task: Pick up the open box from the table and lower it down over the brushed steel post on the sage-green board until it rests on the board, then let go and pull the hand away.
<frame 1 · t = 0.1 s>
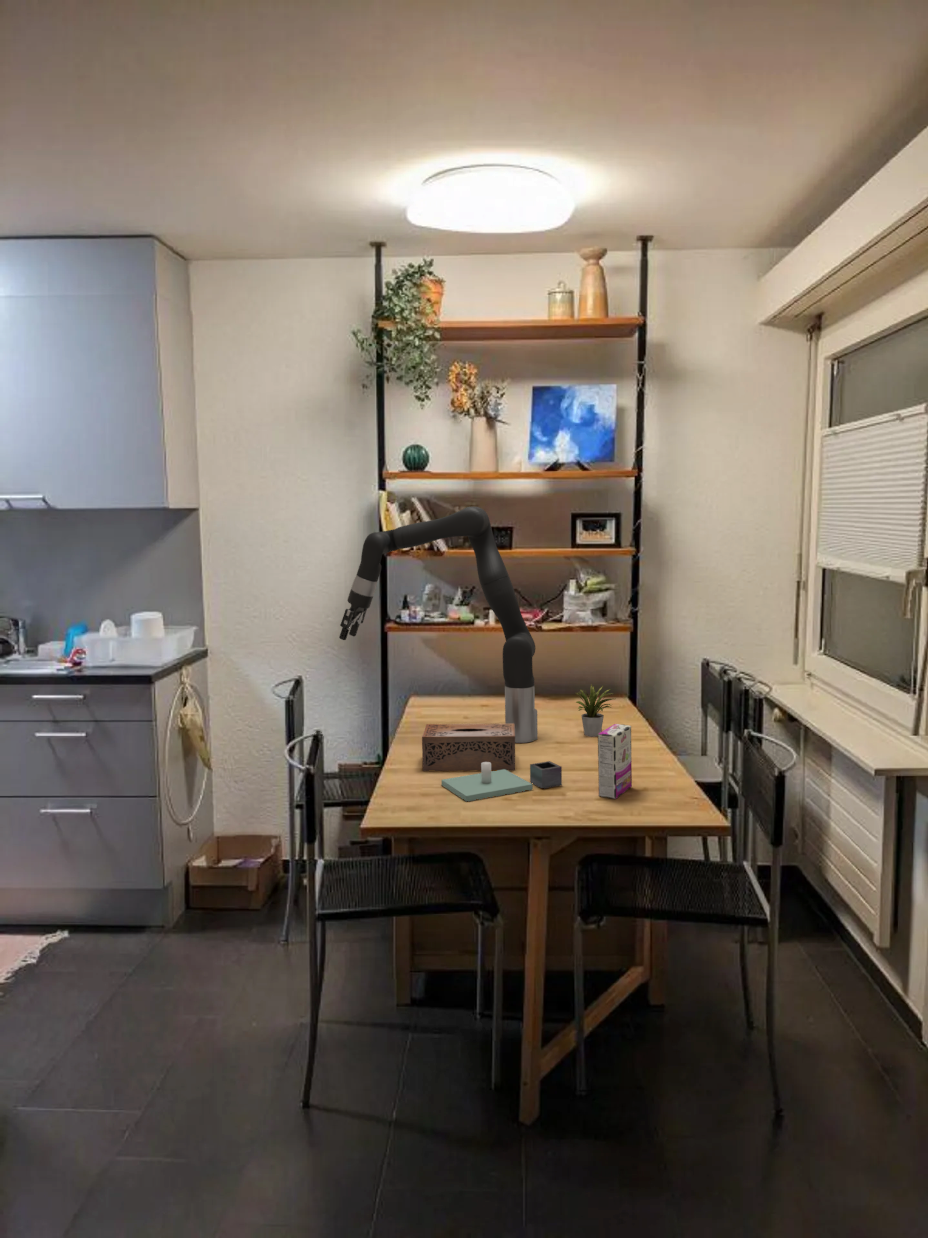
hand: (347, 637, 285), 31 cm above the table, tool tilted 20°, fingers open, 8 cm apart
house plant: (591, 736, 278), on the table
open box: (545, 784, 230), on the table
post board: (486, 787, 228), on the table
tissue box cover: (469, 764, 251), on the table
candy bar box: (614, 792, 223), on the table
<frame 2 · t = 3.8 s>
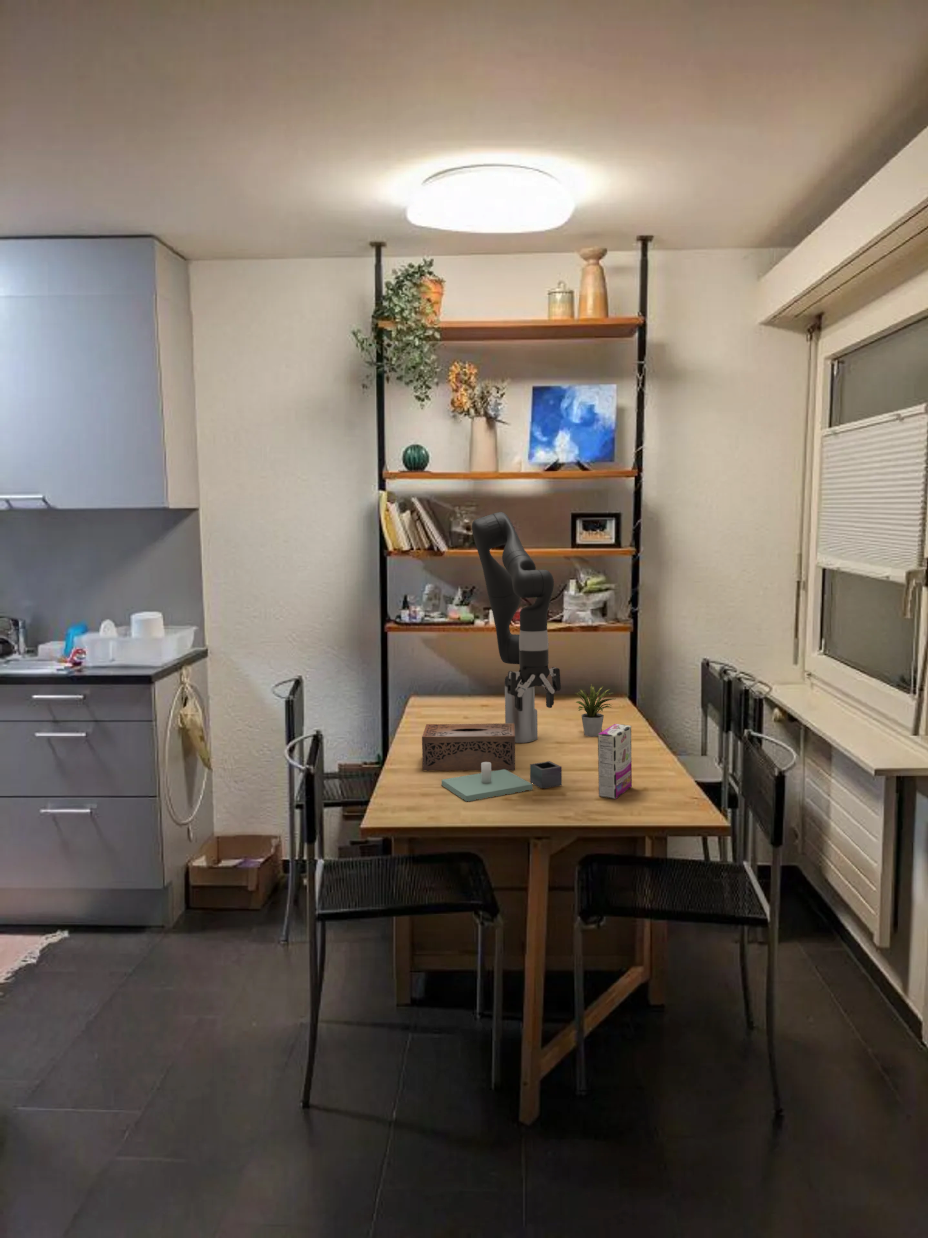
hand: (534, 709, 227), 20 cm above the table, tool pointing down, fingers open, 8 cm apart
nothing on the table moved.
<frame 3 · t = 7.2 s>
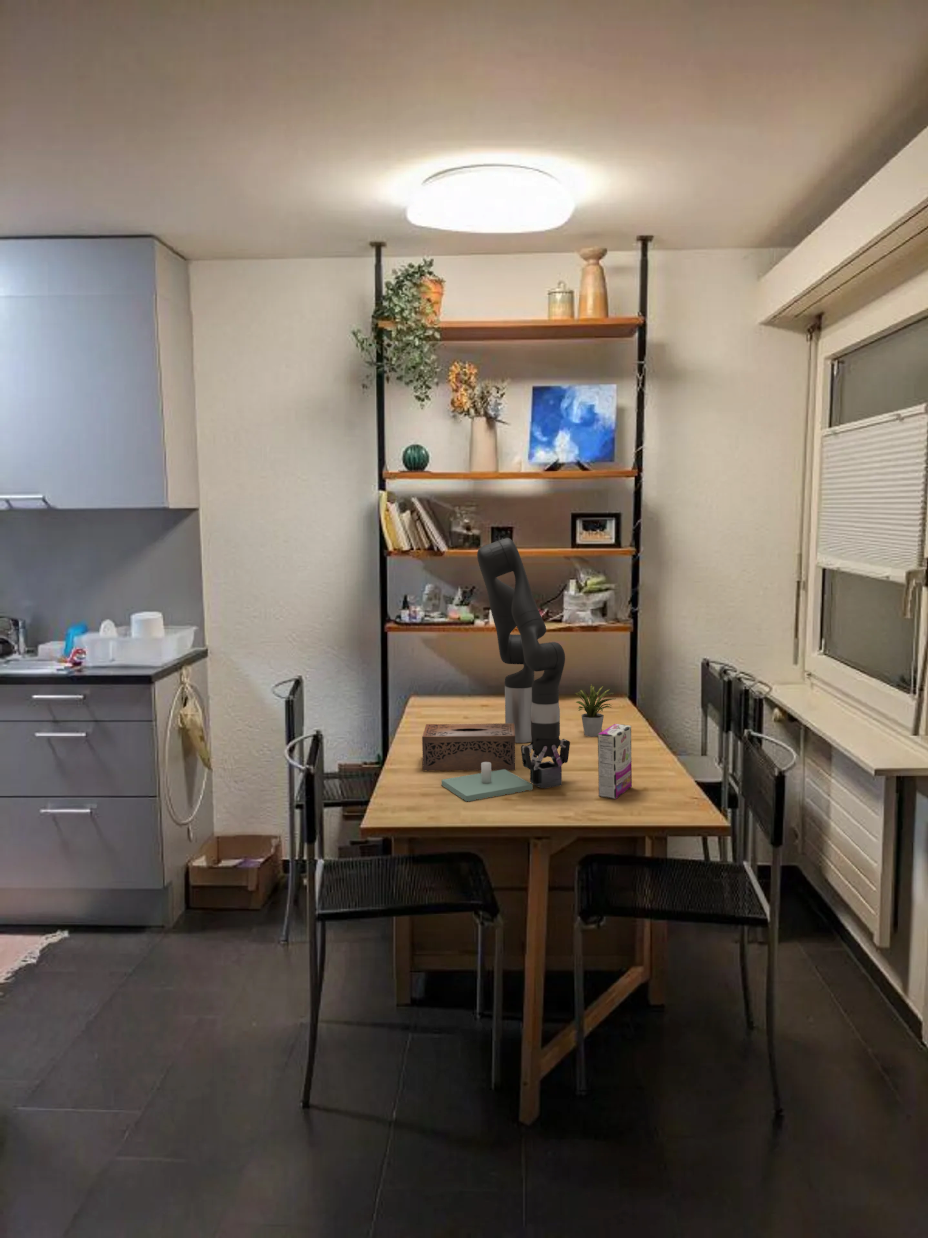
hand: (545, 781, 230), 1 cm above the table, tool pointing down, fingers closed on open box, 6 cm apart
open box: (545, 784, 230), on the table, touching gripper
everything else where it was.
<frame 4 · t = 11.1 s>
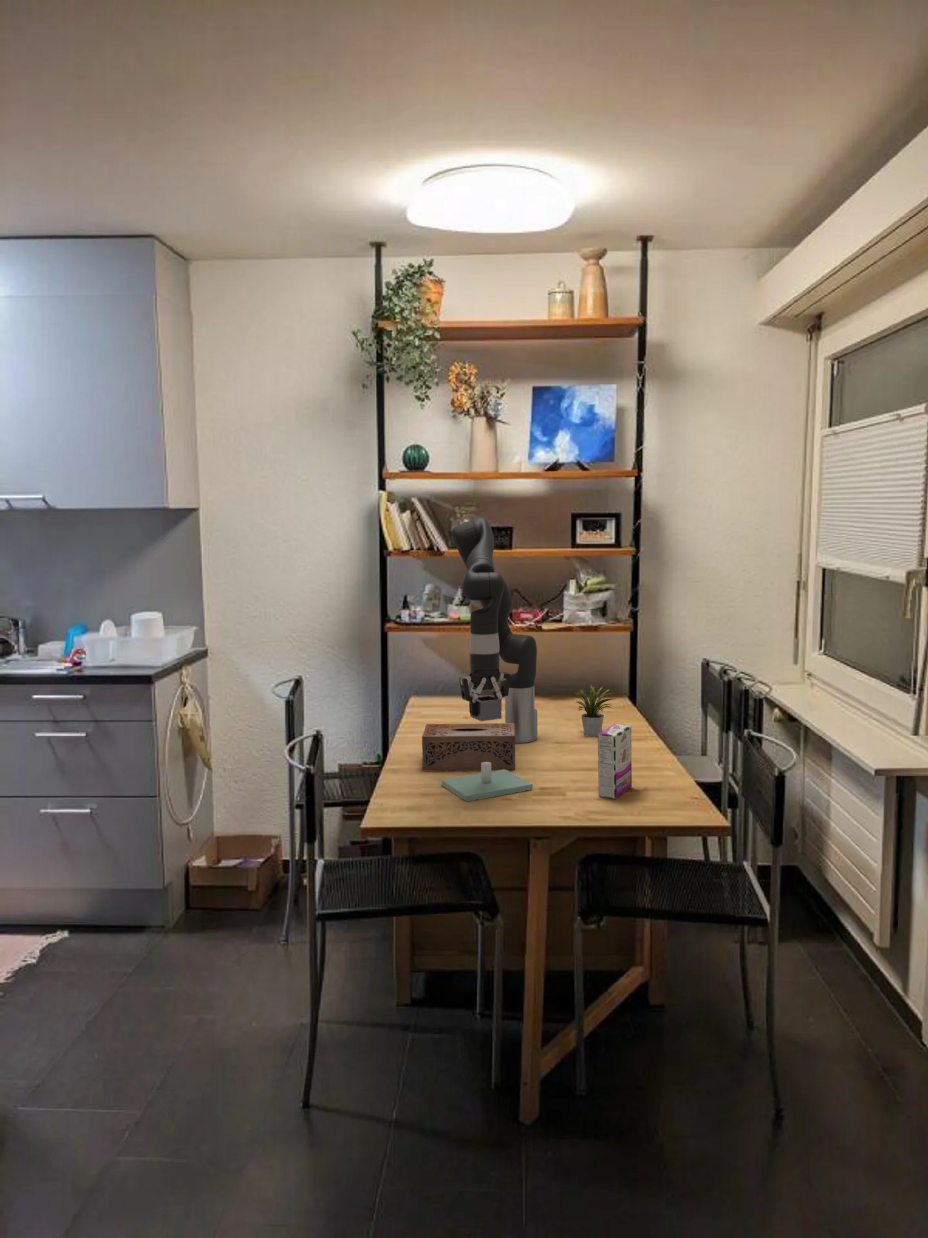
hand: (485, 714, 226), 19 cm above the table, tool pointing down, fingers closed on open box, 6 cm apart
open box: (485, 717, 226), point 19 cm above the table, touching gripper
everything else where it was.
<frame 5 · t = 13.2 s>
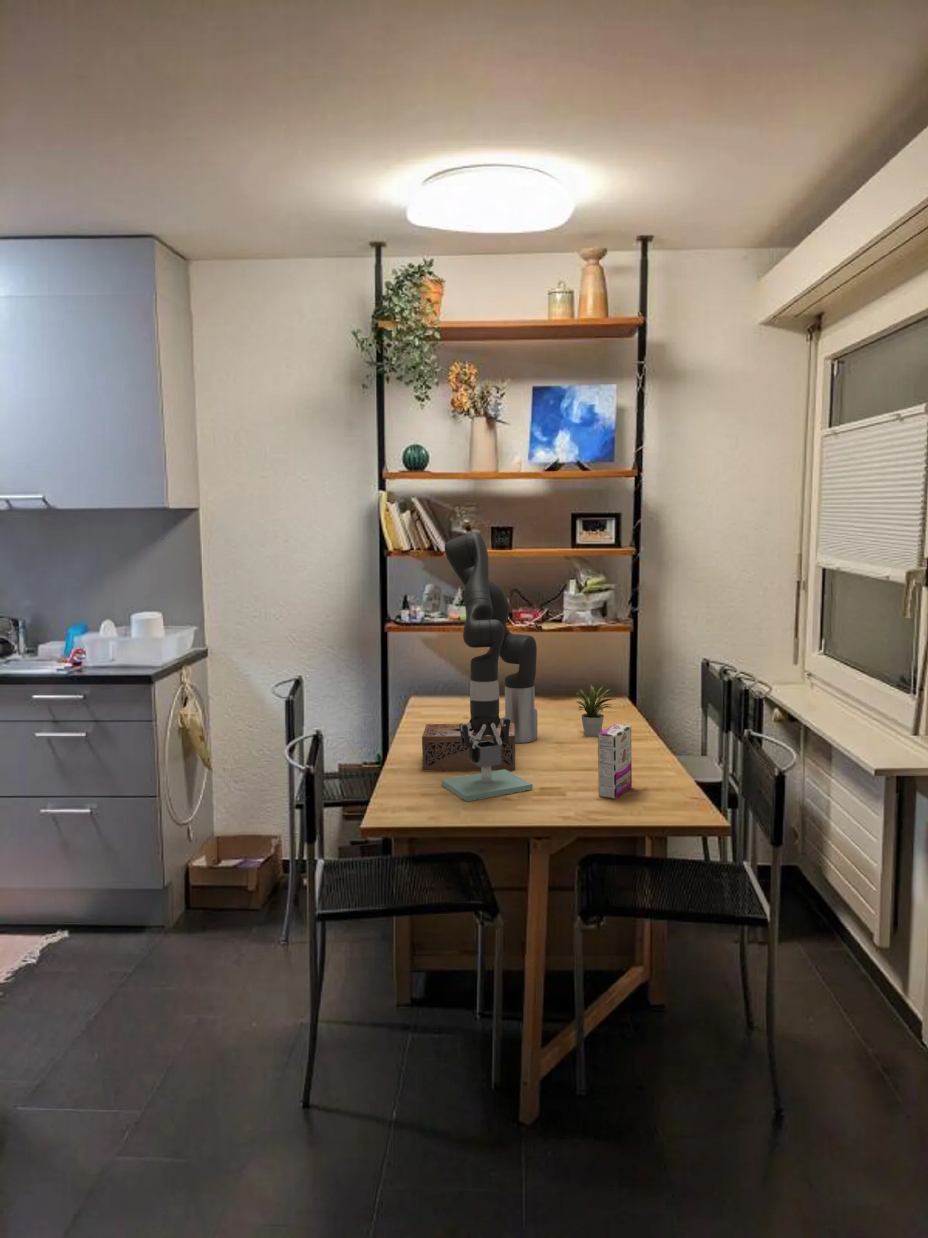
hand: (485, 760, 227), 7 cm above the table, tool pointing down, fingers closed on open box, 6 cm apart
open box: (485, 763, 227), point 7 cm above the table, touching gripper
everything else where it was.
when the fingers open (4 cm above the table, at t = 15.0 s): open box drops 1 cm, resting on post board.
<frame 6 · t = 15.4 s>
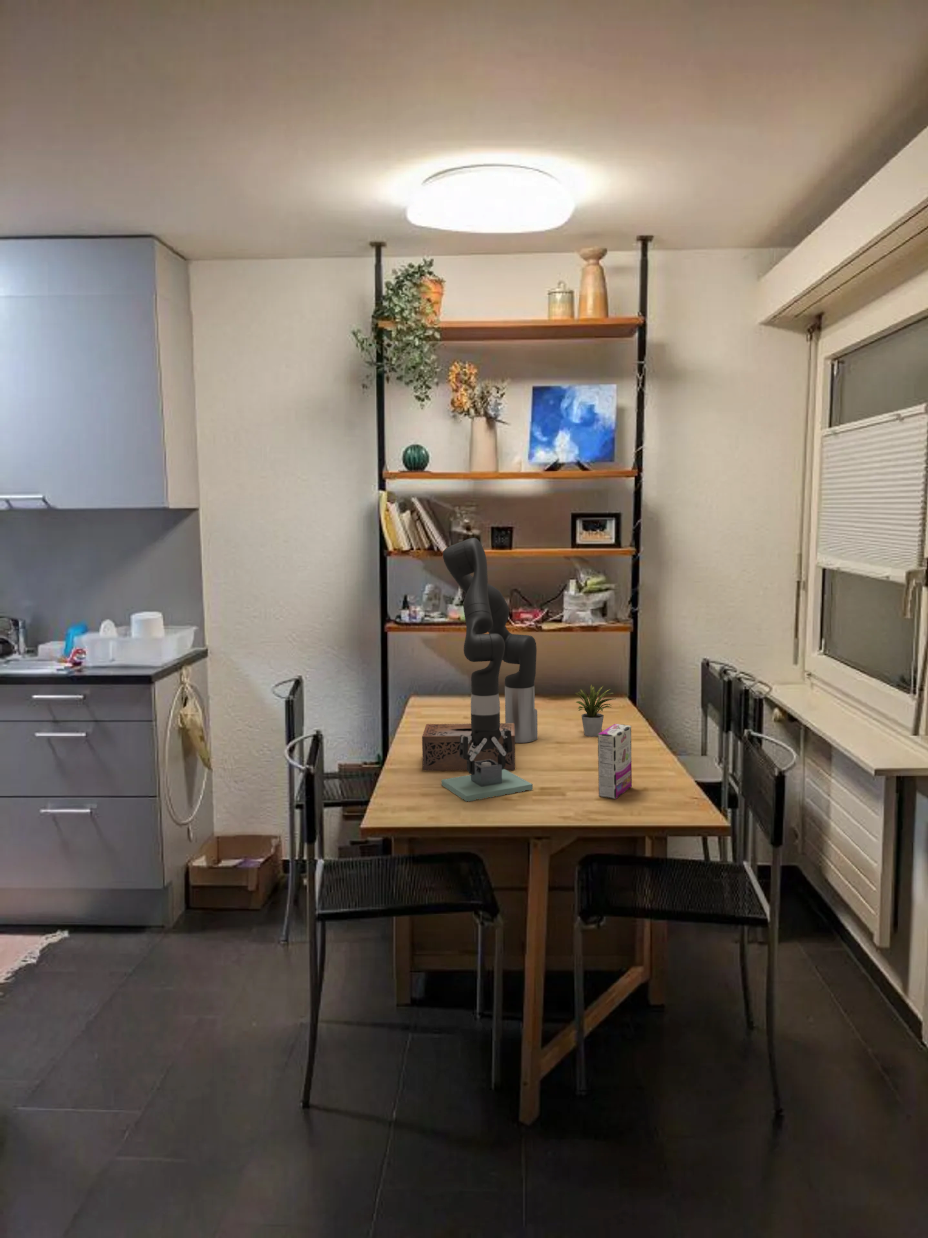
hand: (486, 771, 228), 4 cm above the table, tool pointing down, fingers open, 8 cm apart
open box: (486, 782, 228), point 1 cm above the table, touching post board
everything else where it was.
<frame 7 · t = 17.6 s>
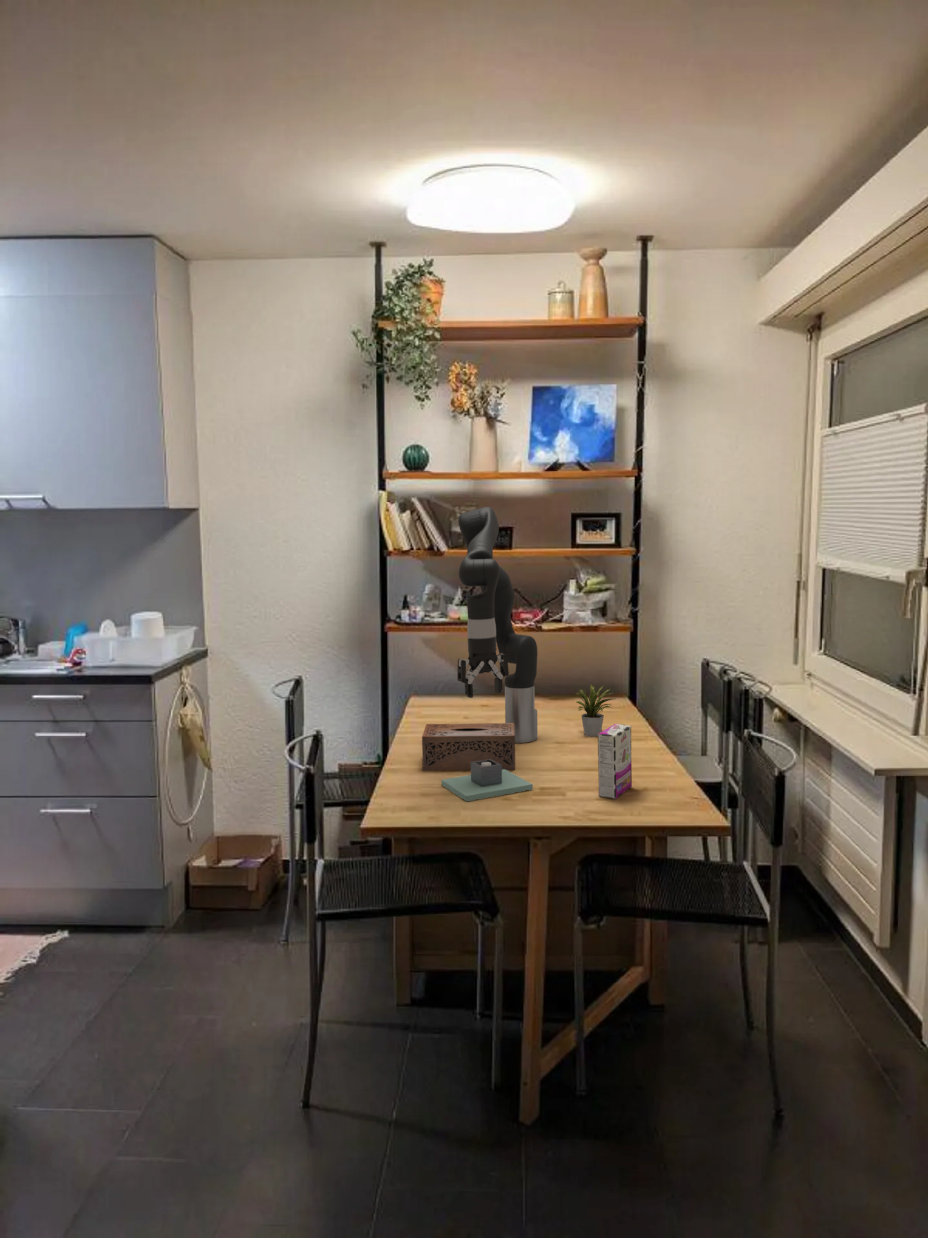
hand: (484, 694, 233), 23 cm above the table, tool pointing down, fingers open, 8 cm apart
nothing on the table moved.
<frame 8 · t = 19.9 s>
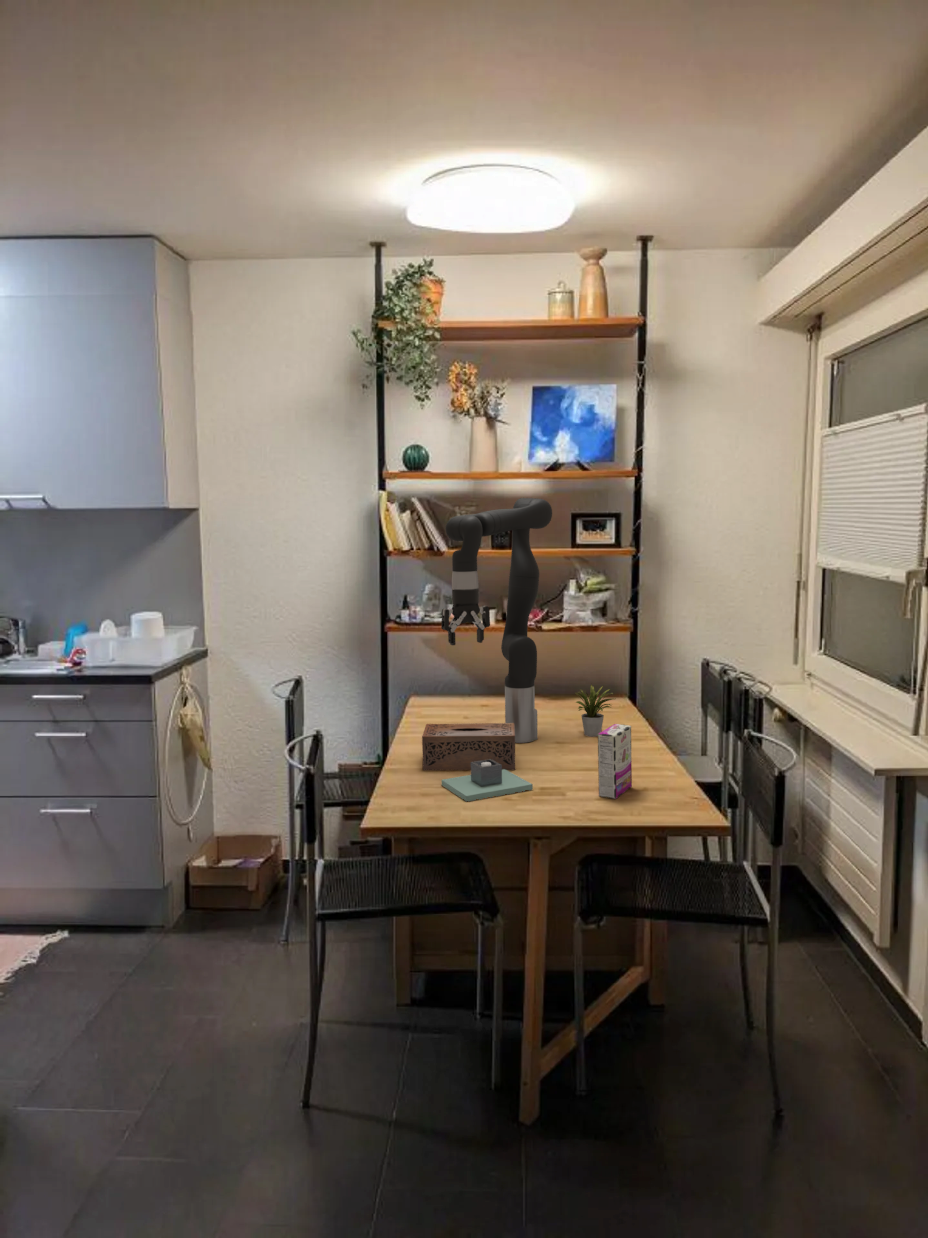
hand: (466, 643, 249), 34 cm above the table, tool pointing down, fingers open, 8 cm apart
nothing on the table moved.
at the end: open box 0.0 cm off-centre on the post board, point 1.5 cm above the post board's base; open box tilted 0°; the gripper is holding nothing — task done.
